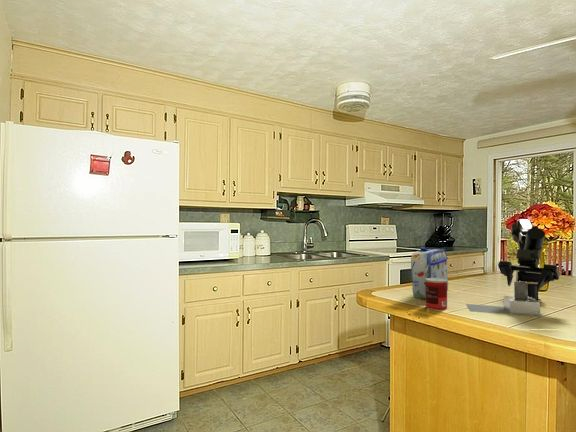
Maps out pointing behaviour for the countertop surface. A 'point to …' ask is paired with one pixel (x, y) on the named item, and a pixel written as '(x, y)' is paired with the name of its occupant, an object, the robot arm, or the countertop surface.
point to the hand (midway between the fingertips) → (522, 287)
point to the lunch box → (427, 269)
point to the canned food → (436, 293)
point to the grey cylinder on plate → (521, 301)
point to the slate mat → (493, 309)
